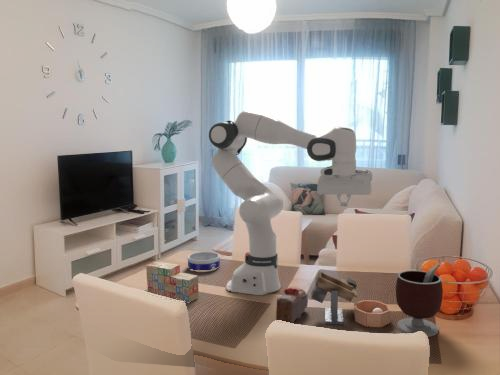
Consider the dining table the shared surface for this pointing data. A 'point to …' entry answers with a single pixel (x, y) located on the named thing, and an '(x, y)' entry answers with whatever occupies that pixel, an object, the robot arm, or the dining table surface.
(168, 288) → the stack of blocks
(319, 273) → the tipping chute
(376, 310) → the ball
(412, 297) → the mate gourd
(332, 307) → the chute stand
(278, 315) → the food item
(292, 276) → the dining table surface
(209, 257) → the dog bowl
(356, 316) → the octagonal bowl
